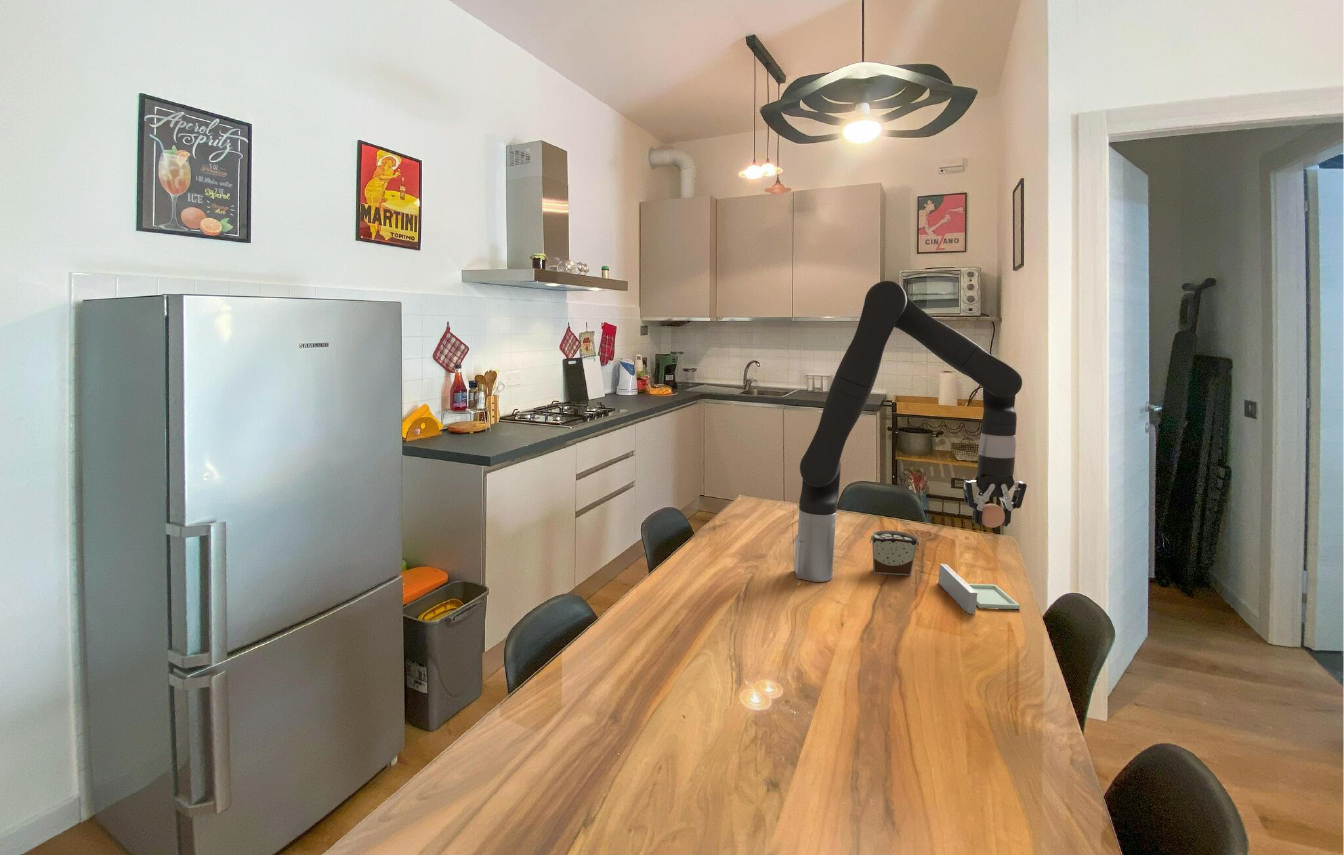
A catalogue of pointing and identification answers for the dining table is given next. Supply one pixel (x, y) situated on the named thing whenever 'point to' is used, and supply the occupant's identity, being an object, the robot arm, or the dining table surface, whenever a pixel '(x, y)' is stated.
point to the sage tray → (993, 597)
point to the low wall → (957, 588)
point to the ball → (992, 515)
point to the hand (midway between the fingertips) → (991, 524)
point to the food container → (893, 552)
